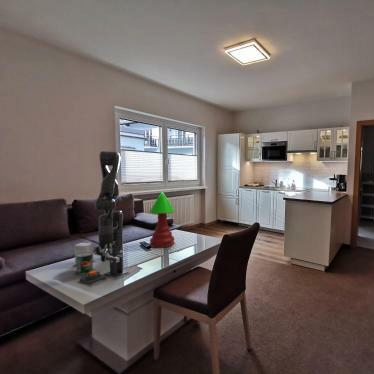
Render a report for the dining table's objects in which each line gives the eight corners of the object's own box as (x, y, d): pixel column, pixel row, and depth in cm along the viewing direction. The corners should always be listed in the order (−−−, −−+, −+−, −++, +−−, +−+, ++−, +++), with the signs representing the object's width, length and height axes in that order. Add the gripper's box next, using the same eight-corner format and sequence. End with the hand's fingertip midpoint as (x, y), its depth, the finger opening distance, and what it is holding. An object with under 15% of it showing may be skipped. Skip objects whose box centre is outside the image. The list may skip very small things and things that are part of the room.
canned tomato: (82, 269, 143) (81, 251, 142) (95, 269, 144) (95, 251, 143) (73, 274, 135) (72, 256, 135) (87, 274, 136) (87, 256, 135)
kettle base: (104, 275, 135) (104, 257, 134) (117, 270, 142) (116, 253, 142) (115, 279, 131) (115, 260, 130) (128, 273, 138) (128, 256, 138)
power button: (87, 275, 127) (87, 272, 127) (94, 272, 130) (94, 269, 130) (91, 276, 126) (91, 273, 126) (98, 274, 129) (98, 270, 129)
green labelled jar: (93, 261, 156) (93, 242, 155) (87, 265, 149) (86, 245, 148) (81, 261, 156) (81, 242, 155) (74, 265, 149) (74, 245, 148)
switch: (101, 257, 139) (102, 252, 139) (106, 256, 142) (107, 251, 142) (115, 264, 134) (115, 258, 134) (120, 262, 137) (120, 257, 137)
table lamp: (144, 245, 193) (144, 191, 191) (165, 239, 210) (165, 190, 207) (158, 249, 182) (158, 192, 180) (179, 243, 198) (179, 191, 196)
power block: (79, 282, 127) (79, 274, 126) (94, 276, 134) (94, 269, 134) (91, 286, 123) (91, 278, 122) (106, 279, 130) (105, 272, 130)
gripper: (112, 229, 147) (113, 255, 148) (89, 234, 134) (90, 263, 135) (121, 230, 144) (121, 257, 145) (98, 235, 131) (98, 265, 132)
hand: (106, 260), depth 140 cm, fingers closed on switch, 3 cm apart
